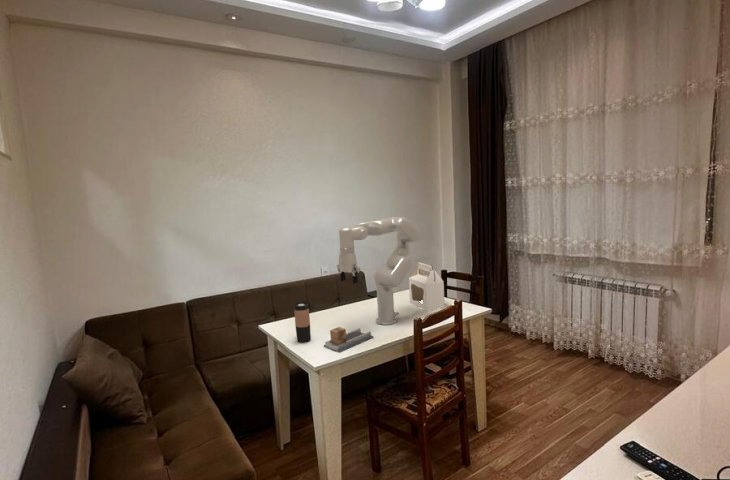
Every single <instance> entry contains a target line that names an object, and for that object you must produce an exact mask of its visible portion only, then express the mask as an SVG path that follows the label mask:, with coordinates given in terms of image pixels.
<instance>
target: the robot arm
mask: <svg viewBox="0 0 730 480" xmlns="http://www.w3.org/2000/svg"><path fill="white" fill-rule="evenodd" d="M394 232H395V233H396V239H397V240H396V241H397V244H396V247H395V248H394V250H393V252H392V253H391V254H390V256H388V259H387V260H386V263H385V264H386V265H385V266H386V267H387V268H385V267H381V268H379V269H377V270H376V271H375V272H374V283H375V287H376V301H377V318H375V323H376V324H377V325H382V326H384V325H386V326H390V325H393V324H396V323H397V322H398V318H397V316H398V315H400V312H399V311H395V301H394V290H393V289H394V288H397V287H400V285H401V284H402V282H403V281H404V280H405V278H406V277H407V275H408V274H409V272H410V271H411V269H412V264H413V263H412V259H411V258H410V257H409V255H410V252H411V246H410V243H418V242H419V241H420V240H421V239H422V232H421V230H420V228H419V227H417V226H416V225H415V224H414V223H413V222H412V221H410V220H409V219H408V218H406V217H404V216H391V217H387V218H383V219H379V220H373V221H367V222H361V223H356V224H352V225H349V226H348V227H342V228H340V229H339V230H338V237H339V255H338V264H336V267H337V272H339V273H338V274H339V275H340V278H339V279H340V282H345V281H346V273H351V274H352V284H358V283H359V277H358V276H359V274H360V272H361V267H359V265H358V264H357V263H358V261H357V256H356V253H355V241H363V240H366V238H367V237H368V236H371V237H372V236H373V237H375V236H376V237H378V236H382V235H386V234H387V235H388V234H390V233H394Z"/></svg>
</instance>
